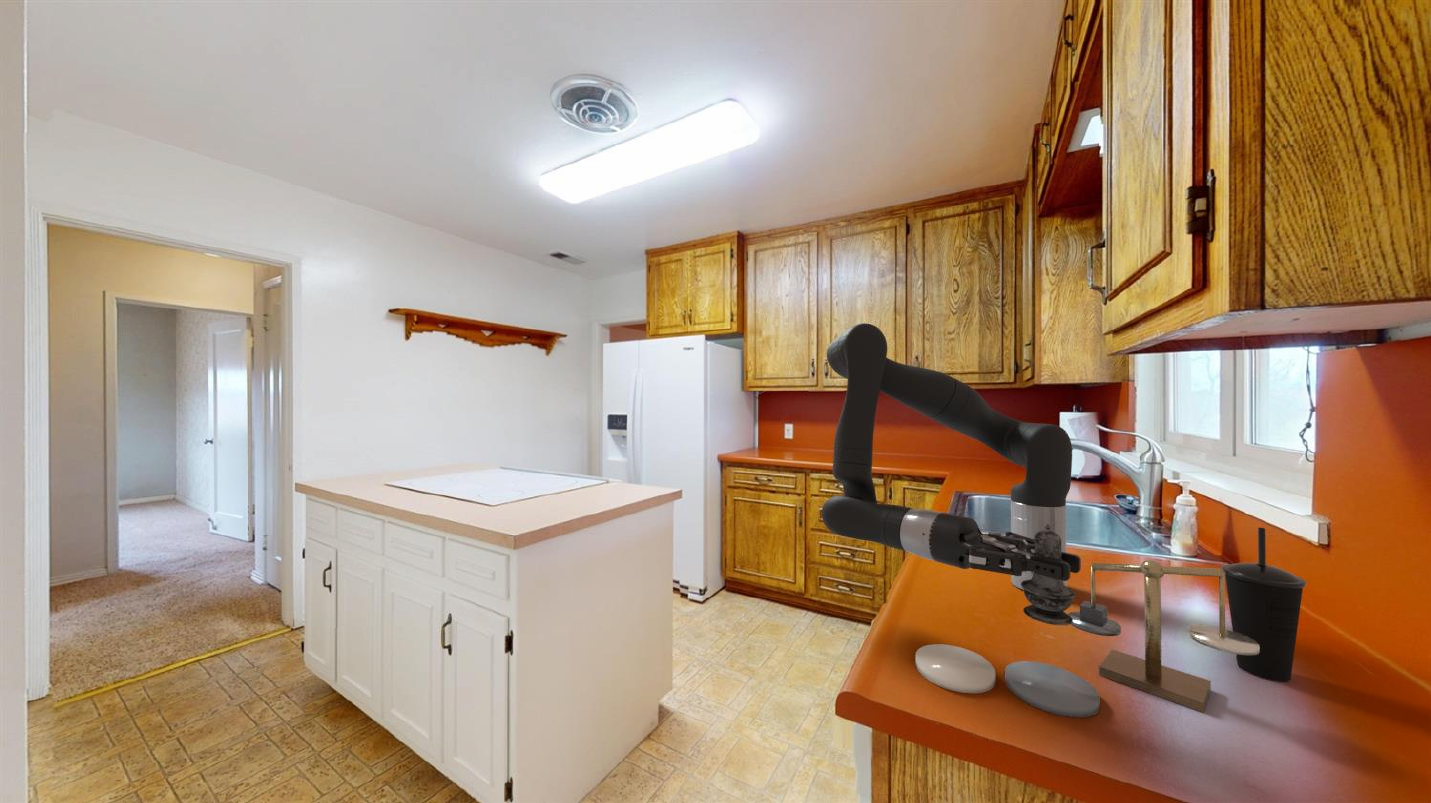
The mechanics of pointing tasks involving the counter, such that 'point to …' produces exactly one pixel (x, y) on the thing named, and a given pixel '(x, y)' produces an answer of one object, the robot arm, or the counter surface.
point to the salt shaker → (1048, 585)
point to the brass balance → (1159, 637)
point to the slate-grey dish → (1052, 689)
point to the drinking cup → (1265, 613)
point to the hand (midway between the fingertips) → (1073, 568)
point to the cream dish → (955, 668)
